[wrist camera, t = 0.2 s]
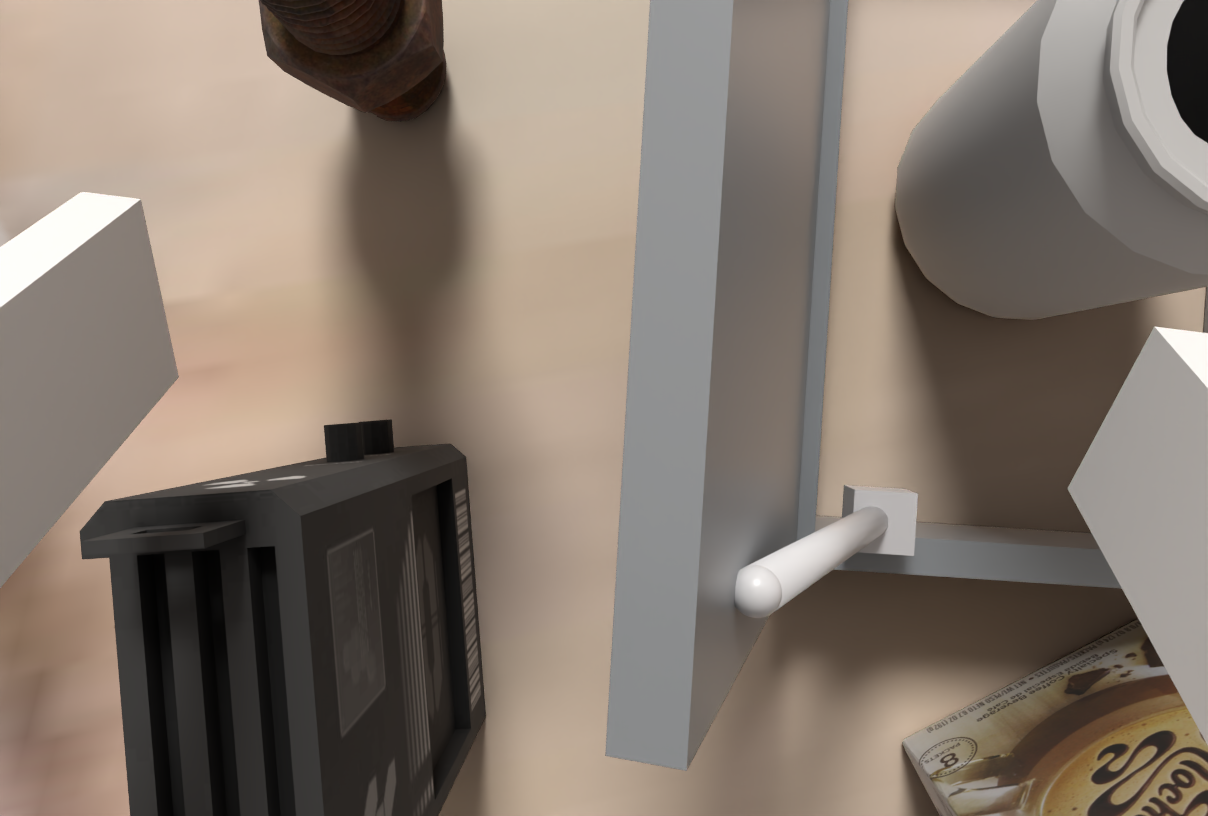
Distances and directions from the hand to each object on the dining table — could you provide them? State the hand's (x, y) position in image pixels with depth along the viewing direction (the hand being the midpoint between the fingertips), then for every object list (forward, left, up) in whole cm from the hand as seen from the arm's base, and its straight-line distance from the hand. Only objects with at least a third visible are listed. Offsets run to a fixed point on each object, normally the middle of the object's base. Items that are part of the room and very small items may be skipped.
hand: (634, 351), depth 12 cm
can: (+6, -11, -16) cm, 20 cm away
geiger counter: (-7, +7, -16) cm, 19 cm away
